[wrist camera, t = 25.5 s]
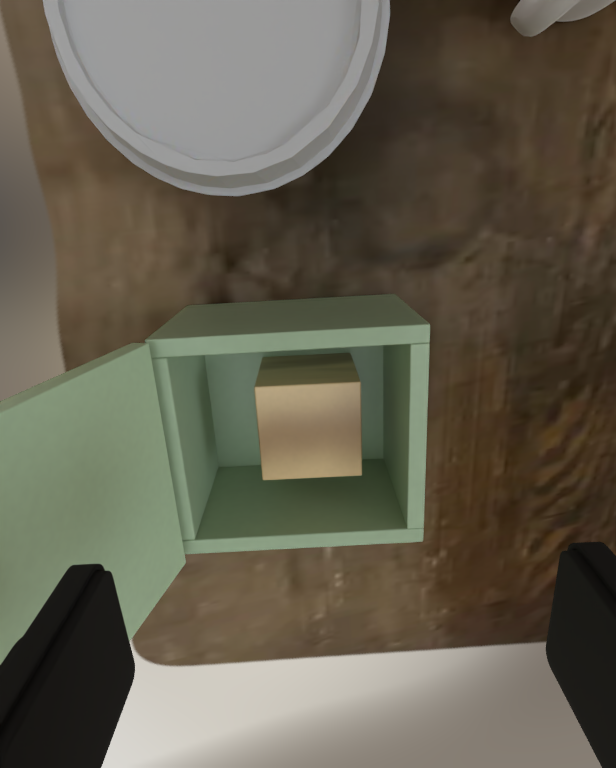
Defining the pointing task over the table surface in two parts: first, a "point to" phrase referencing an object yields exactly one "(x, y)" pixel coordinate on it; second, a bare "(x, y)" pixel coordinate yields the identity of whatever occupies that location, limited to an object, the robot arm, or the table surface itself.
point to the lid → (86, 489)
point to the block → (309, 416)
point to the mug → (551, 13)
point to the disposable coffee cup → (221, 82)
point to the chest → (240, 431)
